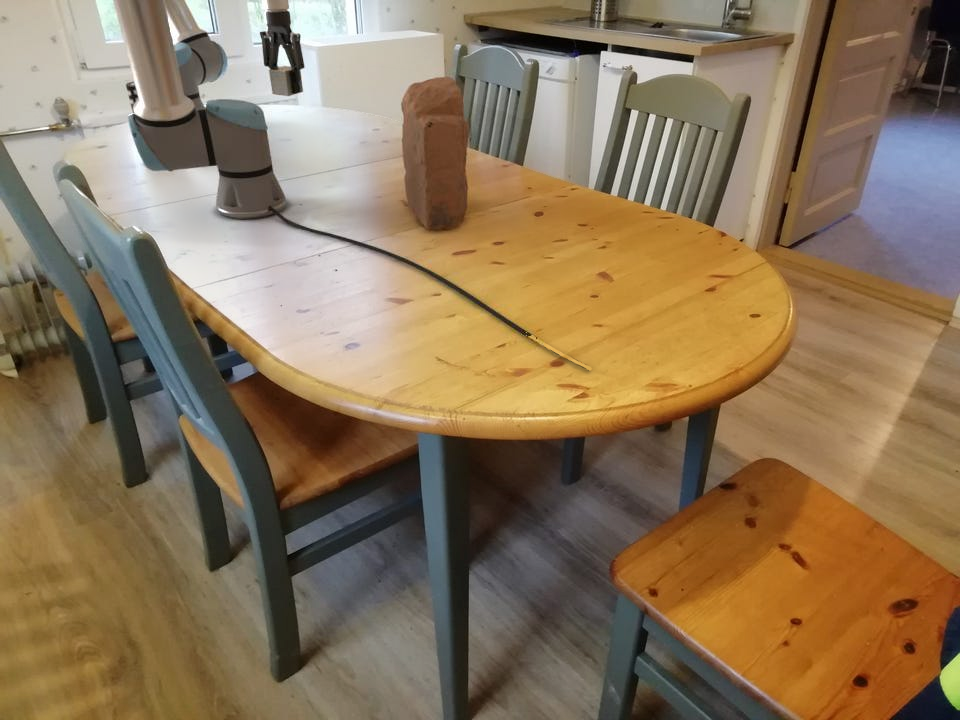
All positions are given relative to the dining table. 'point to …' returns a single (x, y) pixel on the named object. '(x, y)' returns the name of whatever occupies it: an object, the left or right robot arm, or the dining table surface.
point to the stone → (435, 152)
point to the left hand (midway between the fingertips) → (287, 91)
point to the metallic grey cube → (282, 81)
